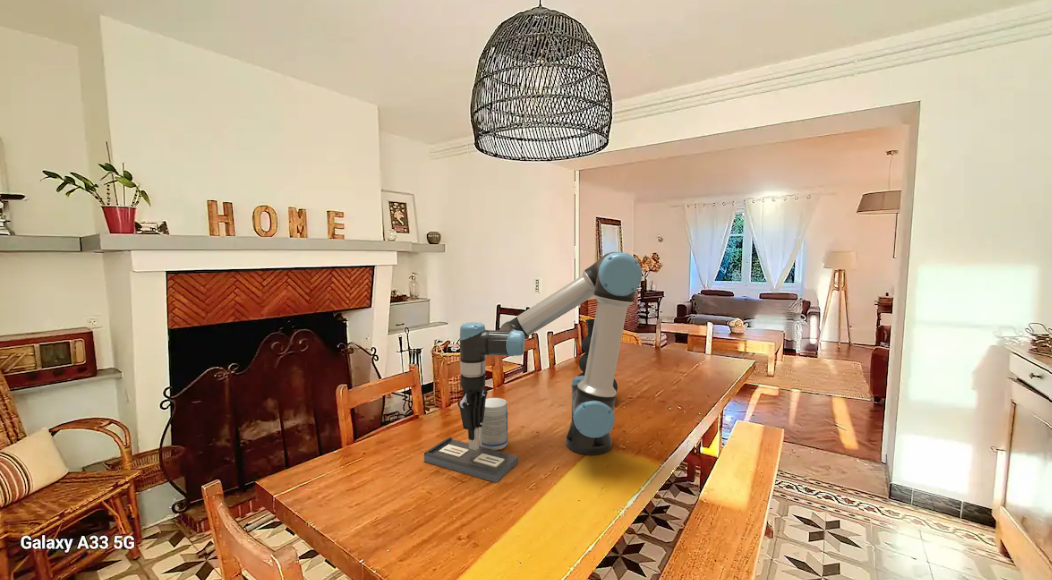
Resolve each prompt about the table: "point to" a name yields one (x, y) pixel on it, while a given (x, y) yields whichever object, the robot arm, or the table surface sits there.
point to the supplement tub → (494, 424)
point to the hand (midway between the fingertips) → (473, 448)
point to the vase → (586, 348)
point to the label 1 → (454, 450)
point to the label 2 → (489, 460)
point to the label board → (470, 460)
